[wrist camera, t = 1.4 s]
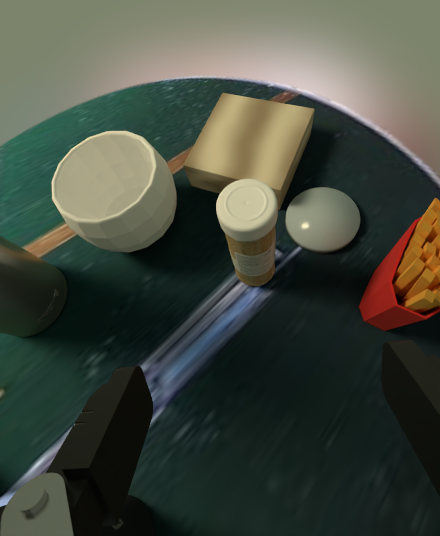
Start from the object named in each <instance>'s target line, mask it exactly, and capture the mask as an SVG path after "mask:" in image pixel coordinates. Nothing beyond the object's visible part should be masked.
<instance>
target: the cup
mask: <svg viewBox="0 0 440 536" xmlns="http://www.w3.org/2000/svg"><path fill="white" fill-rule="evenodd" d="M52 200H53V202H54V203H55V205H56V207H57V208H58V210H59V211H60V213H61V215H62V216H63V218H64V220H65V221H66V223H67V225H68V226H69V228H70V229H72V230H73V231H74V232H76V233H77V234H78V235H79V236H81V237H82V238H83V239H85V240H86V241H88V242H90V243H92V244H94V245H95V246H97V247H99V248H102V249H106V250H110V251H117V252H133V251H136V250H139V249H143V248H146V247H148V246H149V245H151V244H152V243H154V242H155V241H156V240H158V239H159V238H161V237H162V236H163V235H164V233H165V232H166V230H167V229H168V228H169V226H170V225H171V223H172V222H173V219H174V214H175V210H176V205H177V198H176V189H175V185H174V180H173V176H172V174H171V172H170V170H169V167H168V165H167V163H166V161H165V160H164V159H163V158H162V157H161V155H160V154H159V153H158V152H157V151H156V150H155V149H154V148H153V147H152V146H151V145H150V144H149V143H148V142H147V140H146V139H145V138H143V137H141V136H138V135H136V134H133V133H131V132H128V131H107V132H104V133H101V134H98V135H95V136H92V137H89V138H87V139H86V140H84V141H83V142H81V143H80V144H78V145H77V146H75V147H74V148H72V149H71V150H70V151H69V153H68V154H67V155H66V156H65V157H64V158H63V160H62V161H61V162H60V163H59V165H58V167H57V170H56V172H55V175H54V177H53V180H52Z"/></svg>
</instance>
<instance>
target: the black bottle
mask: <svg viewBox="0 0 440 536" xmlns="http://www.w3.org/2000/svg"><path fill="white" fill-rule="evenodd" d="M99 536H154V527H153V522H152V518H151V516H150V514H149V512H148V510H147V508H146V506H145V505H144V504H143V503H141V502H140V501H139V500H138V499H137V498H135V497H132V496H130V495H127V498H126V501H125V504H124V507H123V510H122V513H121V516H120V520H119V523H118V525H117V526H102V529H101V532H100V535H99Z"/></svg>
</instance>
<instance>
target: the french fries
mask: <svg viewBox="0 0 440 536" xmlns="http://www.w3.org/2000/svg"><path fill="white" fill-rule="evenodd" d="M359 308H360V311H361V314H362V317H363V320H364V321H365V322H367V323H369V324H371V325H373V326H375V327H377V328H379V329H382V330H384V331H386V330H389V329H393V328H396V327H400V326H403V325H407V324H411V323H414V322H418V321H421V320H425V319H427V318H429V317H431V316H432V315H434V314H436V313H438V312H440V201H439V200H438V199H437V198H435V199H434V201H433V202H432V203H431V205H430V206H429V208H428V209H427V211H426V212H425V214H424V215H423V216H422V217H420V218H419V219H417V220H415V221H414V222H413V224H412V225H411V226H410V227H409V229H408V230H407V231H406V232H405V234H404V235H403V236H402V237H401V239H400V240H399V241H398V242H397V244H396V245H395V246H394V247H393V249H392V250H391V251H390V252H389V254H388V255H387V256H386V257H385V259H384V260H383V261H382V262H381V264H380V265H379V266H378V267H377V269H376V270H375V271H374V273H373V275H372V277H371V279H370V281H369V283H368V286H367V288H366V290H365V292H364V295H363V297H362V300H361V302H360V305H359Z"/></svg>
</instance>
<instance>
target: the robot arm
mask: <svg viewBox="0 0 440 536" xmlns="http://www.w3.org/2000/svg"><path fill="white" fill-rule="evenodd" d="M66 298H67V282H66V279H65V277H64V275H63V274H62V272H61V271H60V270H59V269H57V268H56V267H54V266H53V265H51V264H49V263H47V262H46V261H44V260H42V259H40V258H38V257H37V256H35V255H33V254H32V253H30V252H28V251H26V250H25V249H23V248H21V247H19V246H17V245H16V244H14V243H12V242H10V241H8V240H7V239H5V238H3V237H1V236H0V333H4V334H9V335H14V336H19V337H27V336H31V335H35V334H37V333H39V332H41V331H43V330H45V329H46V328H47V327H49V326H50V325H51V324H52V323H53V322H54V321H55V320H56V319H57V317H58V316H59V314H60V313H61V311H62V309H63V307H64V305H65V302H66ZM382 387H383V391H384V395H385V397H386V400H387V402H388V404H389V405H390V407H391V409H392V411H393V413H394V414H395V416H396V418H397V420H398V422H399V424H400V425H401V427H402V429H403V431H404V433H405V434H406V436H407V438H408V440H409V442H410V443H411V445H412V447H413V449H414V451H415V452H416V454H417V456H418V458H419V460H420V461H421V463H422V465H423V467H424V469H425V471H426V472H427V474H428V476H429V478H430V480H431V481H432V483H433V485H434V487H435V489H436V490H437V492H438V494H439V496H440V358H439V357H437V356H435V355H430V356H426V355H425V354H424V353H423V352H422V351H421V349H420V348H419V347H418V346H417V345H416V344H415V343H414V342H413V341H412V340H403V341H393V342H385V343H384V344H383V352H382ZM152 415H153V401H152V397H151V394H150V391H149V388H148V385H147V382H146V379H145V376H144V373H143V371H142V368H141V367H140V366H132V367H122V368H117V369H116V370H115V371H114V373H113V375H112V377H111V379H110V381H109V382H108V384H106V385H102V386H101V387H100V388H99V389H98V390H97V391H96V392H95V393H94V394H93V395H92V396H91V397H90V398H89V400H88V401H87V403H86V405H85V407H84V408H83V410H82V414H80V415H79V417H78V419H77V420H76V422H75V425H73V427H72V429H71V431H70V432H69V434H68V436H67V437H66V439H65V441H64V443H63V444H62V446H61V448H60V449H59V451H58V453H57V455H56V456H55V458H54V460H53V461H52V463H51V465H50V467H49V468H48V470H47V472H46V473H45V474H42V475H40V476H37V477H35V478H33V479H32V480H30V481H29V482H27V483H26V484H25V485H23V486H22V487H21V488H20V489H19V490H18V491H17V492H16V493H15V494H14V495H13V497H12V498H11V499H10V501H9V502H8V504H7V505H5V506H2V507H0V536H99V535H100V532H101V529H102V526H117V525H118V523H119V520H120V516H121V513H122V510H123V507H124V504H125V501H126V498H127V494H128V491H129V488H130V485H131V482H132V479H133V476H134V473H135V469H136V466H137V463H138V460H139V457H140V454H141V451H142V447H143V444H144V441H145V438H146V435H147V432H148V429H149V425H150V422H151V419H152Z"/></svg>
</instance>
